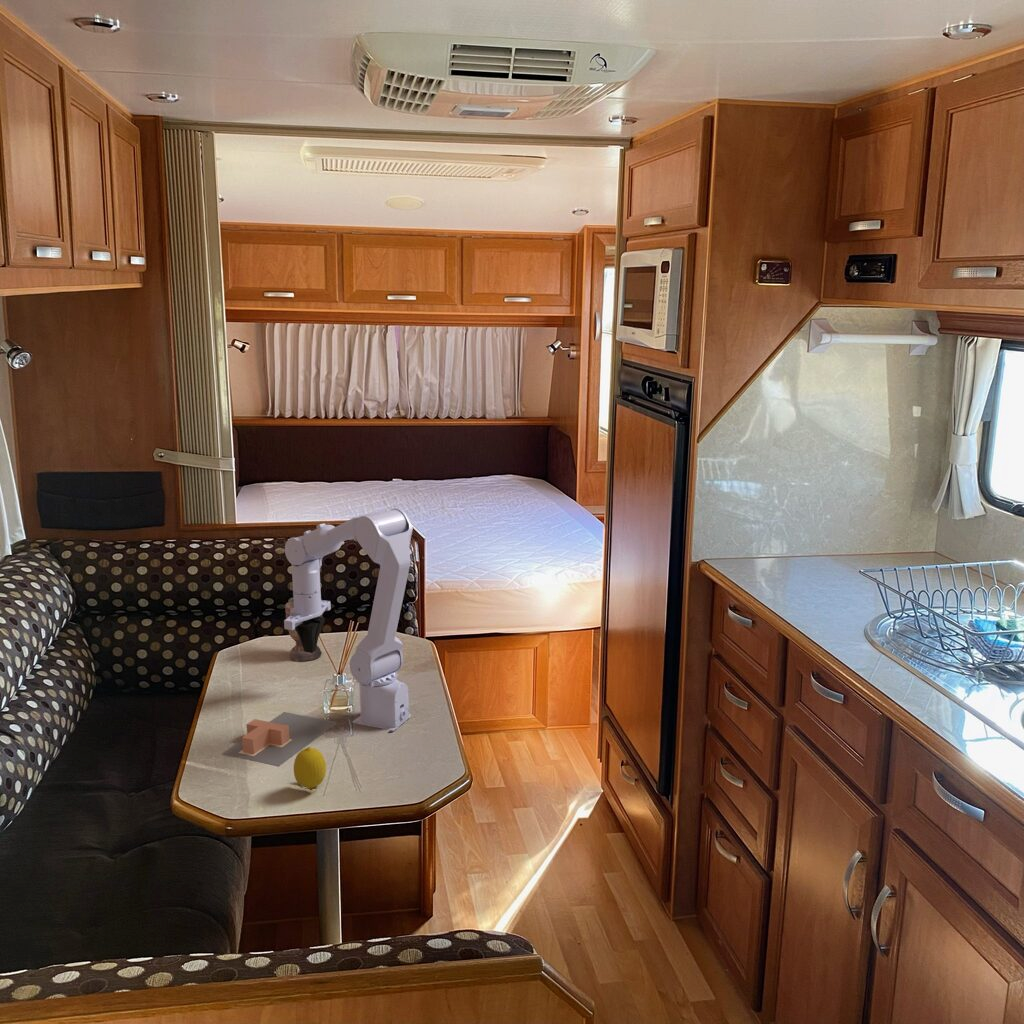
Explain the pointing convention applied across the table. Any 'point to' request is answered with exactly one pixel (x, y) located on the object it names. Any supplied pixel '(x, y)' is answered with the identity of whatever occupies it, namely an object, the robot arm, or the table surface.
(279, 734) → the t block
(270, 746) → the slate board
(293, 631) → the mortar and pestle
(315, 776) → the lemon
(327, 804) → the table surface
